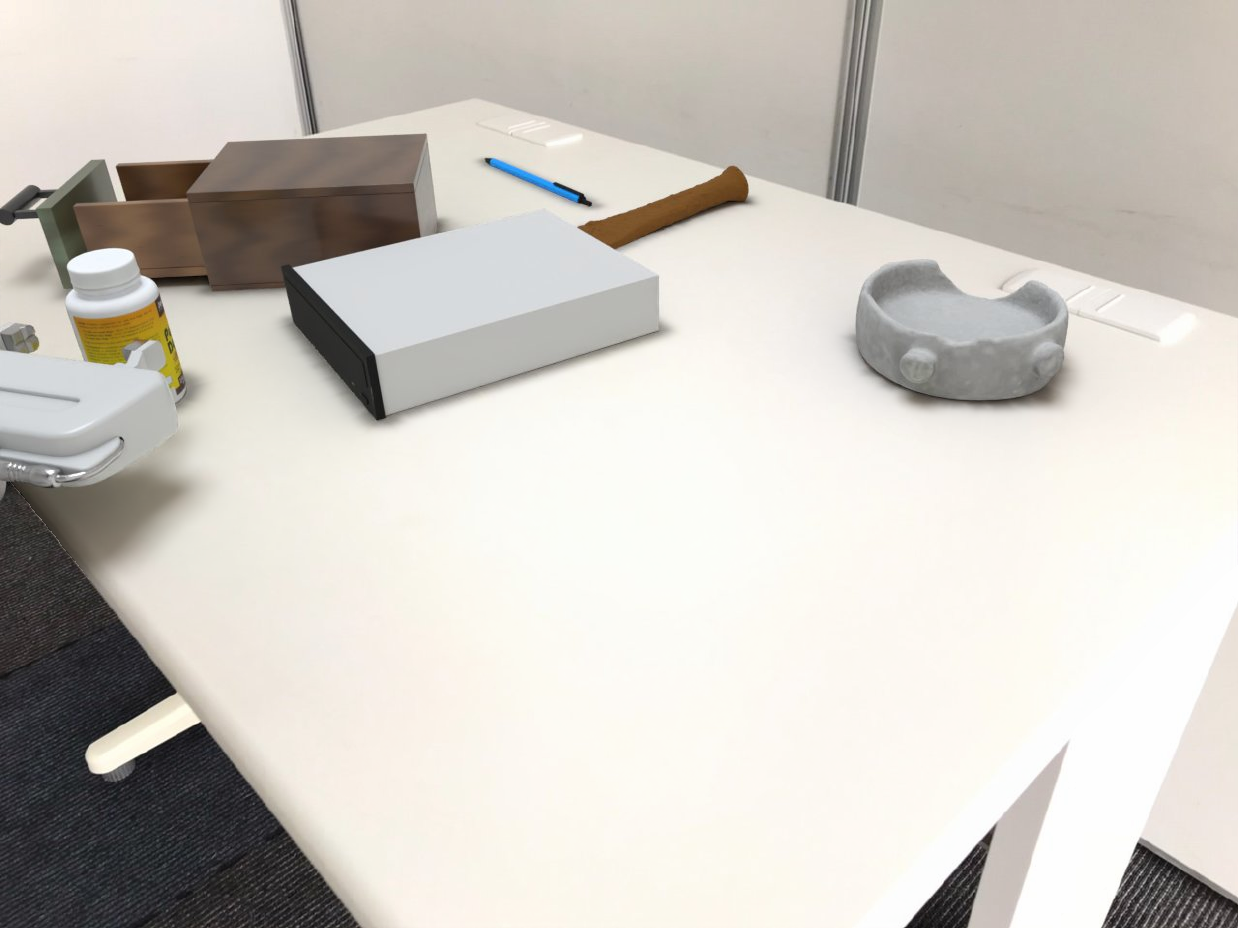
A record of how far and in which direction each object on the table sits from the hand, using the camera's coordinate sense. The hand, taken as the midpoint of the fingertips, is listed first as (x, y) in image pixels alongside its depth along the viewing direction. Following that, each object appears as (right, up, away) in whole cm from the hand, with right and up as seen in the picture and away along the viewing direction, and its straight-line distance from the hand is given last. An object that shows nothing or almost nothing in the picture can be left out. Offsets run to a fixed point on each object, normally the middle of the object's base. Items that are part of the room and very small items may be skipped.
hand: (89, 341), depth 63 cm
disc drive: (+22, +2, +13) cm, 26 cm away
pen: (+25, +21, +41) cm, 52 cm away
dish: (+57, -1, +8) cm, 57 cm away
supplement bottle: (+1, -3, +6) cm, 7 cm away
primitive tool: (+38, +15, +31) cm, 51 cm away
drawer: (-7, +10, +24) cm, 27 cm away
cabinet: (+8, +11, +26) cm, 29 cm away
